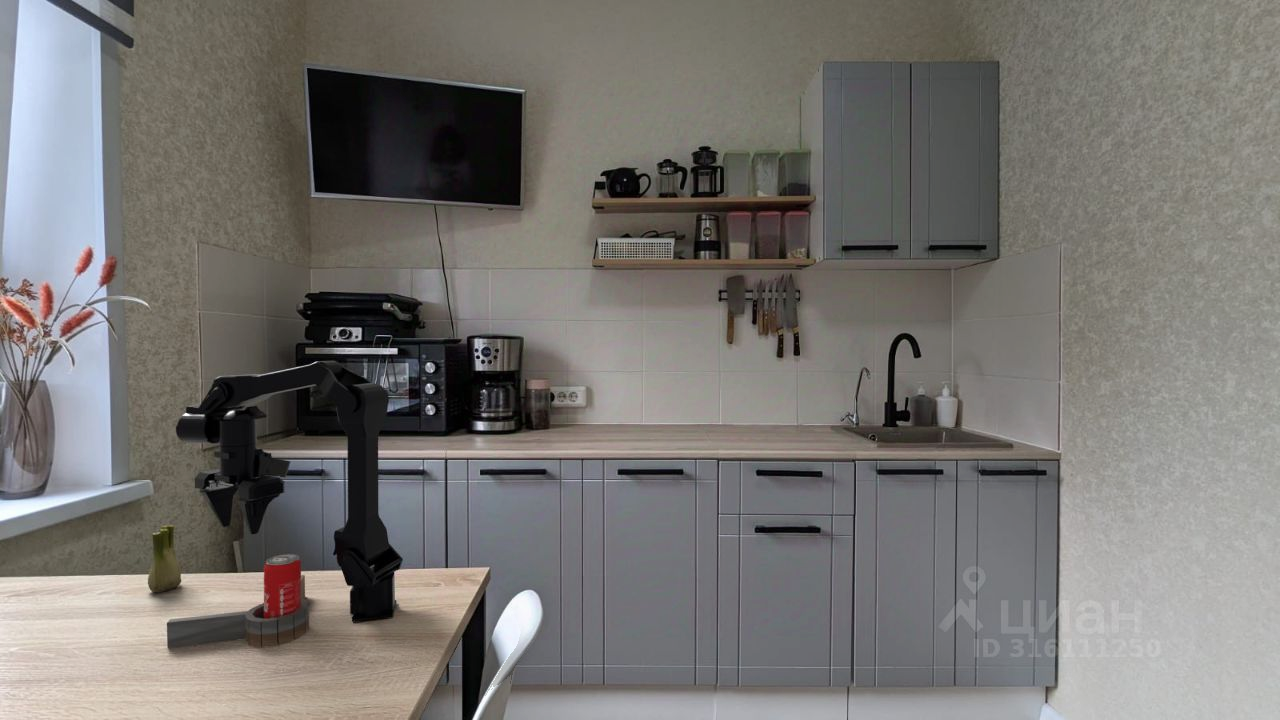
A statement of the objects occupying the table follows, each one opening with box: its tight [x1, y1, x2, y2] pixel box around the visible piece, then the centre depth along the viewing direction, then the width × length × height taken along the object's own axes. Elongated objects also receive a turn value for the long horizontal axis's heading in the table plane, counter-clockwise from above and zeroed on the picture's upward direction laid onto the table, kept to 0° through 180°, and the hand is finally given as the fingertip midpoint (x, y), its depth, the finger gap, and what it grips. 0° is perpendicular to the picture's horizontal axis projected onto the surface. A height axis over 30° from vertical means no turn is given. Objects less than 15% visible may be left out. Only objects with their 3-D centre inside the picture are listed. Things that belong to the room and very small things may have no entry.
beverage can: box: [263, 553, 302, 619], centre depth 100 cm, size 5×5×12 cm
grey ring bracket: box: [166, 574, 310, 649], centre depth 104 cm, size 19×19×4 cm
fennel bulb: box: [147, 524, 182, 593], centre depth 118 cm, size 6×5×12 cm
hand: (240, 530), depth 112 cm, fingers open, 9 cm apart
